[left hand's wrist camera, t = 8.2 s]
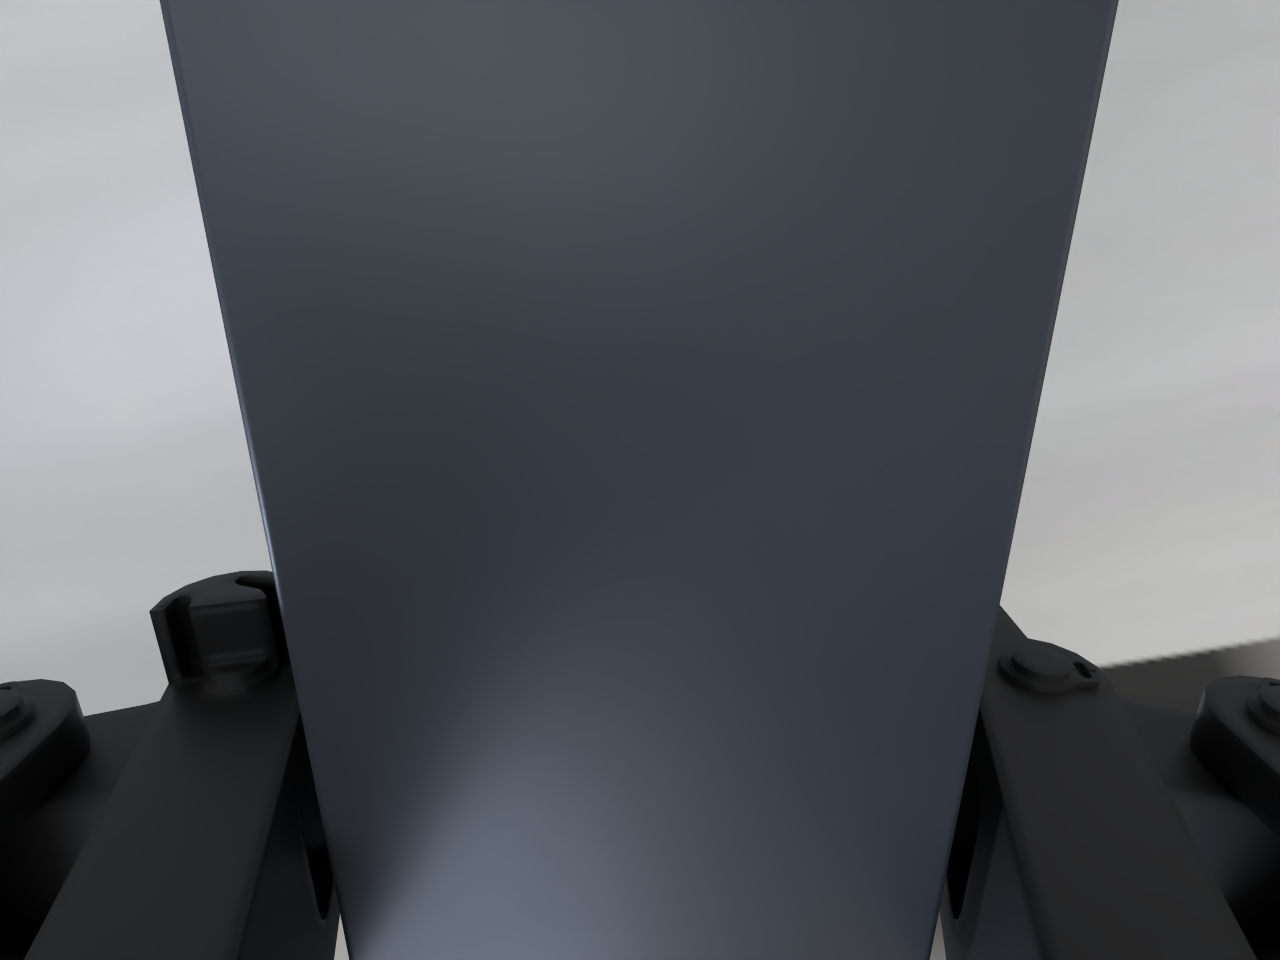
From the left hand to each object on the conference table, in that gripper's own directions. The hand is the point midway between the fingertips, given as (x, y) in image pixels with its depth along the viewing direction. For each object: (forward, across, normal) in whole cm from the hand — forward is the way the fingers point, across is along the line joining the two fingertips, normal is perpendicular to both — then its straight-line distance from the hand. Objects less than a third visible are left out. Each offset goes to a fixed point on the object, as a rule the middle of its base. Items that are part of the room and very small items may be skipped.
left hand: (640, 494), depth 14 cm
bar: (+1, 0, -7) cm, 7 cm away
